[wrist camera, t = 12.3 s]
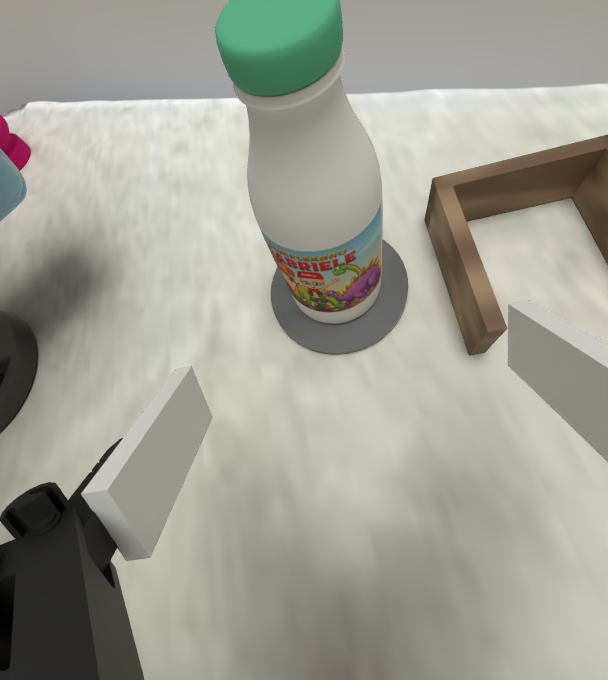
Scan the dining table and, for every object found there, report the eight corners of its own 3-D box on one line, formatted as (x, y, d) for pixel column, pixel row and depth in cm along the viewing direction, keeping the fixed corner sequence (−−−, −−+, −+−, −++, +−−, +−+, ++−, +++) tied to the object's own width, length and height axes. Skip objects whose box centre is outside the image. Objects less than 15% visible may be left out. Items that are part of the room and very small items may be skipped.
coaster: (249, 289, 33) (246, 283, 32) (346, 213, 34) (345, 206, 33) (328, 382, 29) (326, 379, 28) (437, 293, 29) (439, 287, 28)
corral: (424, 219, 32) (432, 178, 28) (580, 183, 30) (617, 132, 26) (469, 355, 27) (487, 332, 23) (658, 321, 25) (721, 288, 21)
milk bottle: (293, 254, 32) (182, -28, 14) (377, 243, 31) (376, -85, 13) (293, 330, 30) (156, 105, 11) (385, 322, 28) (400, 50, 10)
